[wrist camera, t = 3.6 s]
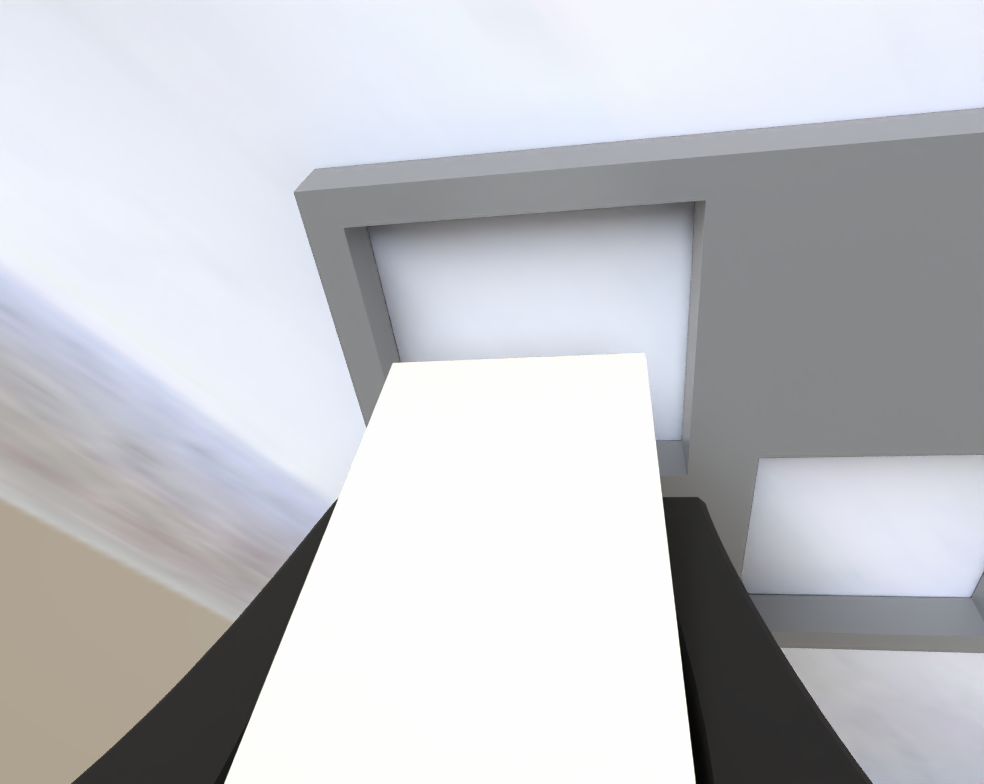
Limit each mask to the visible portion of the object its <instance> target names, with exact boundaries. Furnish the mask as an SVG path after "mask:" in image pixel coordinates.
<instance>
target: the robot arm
mask: <svg viewBox="0 0 984 784" xmlns="http://www.w3.org/2000/svg"><path fill="white" fill-rule="evenodd" d="M662 500H663V509H664V517H665V526H666V534H667V543H668V551H669V560H670V568H671V577H672V585H673V594H674V603H675V611H676V620H677V628H678V637H679V645H680V654H681V662H682V671H683V679H684V688H685V696H686V705H687V714H688V722H689V731H690V739H691V748H692V756H693V765H694V773H695V782H696V784H873V783H872V782H871V781H870V779H869V778H868V777H867V775H866V774H865V773H864V771H863V770H862V768H861V767H860V766H859V764H858V763H857V762H856V760H855V759H854V758H853V756H852V755H851V753H850V752H849V751H848V749H847V748H846V746H845V745H844V744H843V742H842V741H841V739H840V738H839V737H838V735H837V734H836V732H835V731H834V729H833V728H832V727H831V725H830V724H829V722H828V721H827V719H826V718H825V716H824V715H823V714H822V712H821V711H820V709H819V708H818V706H817V704H816V703H815V701H814V700H813V698H812V697H811V695H810V694H809V692H808V691H807V689H806V688H805V686H804V685H803V683H802V682H801V680H800V679H799V677H798V676H797V674H796V673H795V671H794V670H793V668H792V666H791V665H790V663H789V662H788V660H787V658H786V657H785V655H784V654H783V652H782V650H781V649H780V647H779V646H778V644H777V642H776V640H775V639H774V637H773V635H772V634H771V632H770V630H769V629H768V627H767V625H766V624H765V622H764V620H763V618H762V617H761V615H760V613H759V612H758V610H757V608H756V607H755V605H754V603H753V601H752V600H751V598H750V596H749V594H748V592H747V591H746V589H745V587H744V585H743V583H742V581H741V579H740V577H739V576H738V574H737V572H736V570H735V568H734V566H733V564H732V562H731V560H730V558H729V556H728V554H727V552H726V550H725V548H724V546H723V544H722V542H721V540H720V537H719V535H718V533H717V531H716V528H715V526H714V524H713V521H712V519H711V517H710V514H709V512H708V509H707V506H706V503H705V502H704V501H702V500H701V499H700V498H699V497H662ZM337 501H338V499H337V500H336V501H335V502H334V503H333V504H332V505H331V507H330V508H329V509H328V510H327V512H326V513H325V514H324V515H323V516H322V518H321V519H320V520H319V521H318V523H317V524H316V525H315V526H314V527H313V529H312V530H311V531H310V532H309V534H308V535H307V536H306V537H305V539H304V540H303V541H302V542H301V544H300V545H299V546H298V547H297V548H296V550H295V551H294V552H293V553H292V555H291V556H290V557H289V558H288V559H287V561H286V562H285V563H284V564H283V566H282V567H281V568H280V569H279V570H278V572H277V573H276V574H275V575H274V577H273V578H272V579H271V580H270V581H269V582H268V584H267V585H266V586H265V587H264V588H263V589H262V591H261V592H260V593H259V594H258V595H257V596H256V598H255V599H254V600H253V601H252V602H251V603H250V605H249V606H248V607H247V608H246V609H245V610H244V612H243V613H242V614H241V615H240V616H239V617H238V619H237V620H236V621H235V622H234V623H233V624H232V625H231V627H230V628H229V629H228V630H227V631H226V632H225V633H224V634H223V635H222V636H221V637H220V639H219V640H218V641H217V642H216V643H215V644H214V645H213V646H212V647H211V648H210V649H209V650H208V652H207V653H206V654H205V655H204V656H203V657H202V658H201V659H200V660H199V661H198V662H197V663H196V665H195V666H194V667H193V668H192V669H191V670H190V671H189V672H188V673H187V674H186V675H185V676H184V677H183V678H182V679H181V681H180V682H179V683H178V684H177V685H176V686H175V687H174V688H173V689H172V690H171V691H170V692H169V693H168V694H167V695H166V696H165V697H164V698H163V699H162V700H161V701H160V702H159V703H158V704H157V705H156V706H155V707H154V708H153V709H152V710H151V711H150V712H149V713H148V714H147V715H146V716H145V717H144V718H142V720H140V721H139V722H138V723H137V724H136V725H135V726H134V727H133V728H132V729H131V730H130V731H129V732H128V733H127V734H126V735H125V736H124V737H123V738H121V739H120V741H118V742H117V743H116V744H115V745H114V746H113V747H112V748H111V749H110V750H109V751H108V752H106V753H105V754H104V755H103V756H102V757H101V758H100V759H99V760H97V761H96V762H95V763H94V764H93V765H92V766H91V767H90V768H88V769H87V770H86V771H85V772H84V773H83V774H82V775H80V776H79V777H78V778H77V779H76V780H75V781H74V782H73V783H71V784H224V783H225V781H226V778H227V776H228V773H229V771H230V768H231V766H232V763H233V761H234V758H235V756H236V753H237V751H238V748H239V746H240V743H241V741H242V738H243V736H244V733H245V731H246V728H247V726H248V723H249V721H250V718H251V716H252V713H253V711H254V708H255V706H256V703H257V701H258V698H259V696H260V693H261V691H262V688H263V686H264V683H265V681H266V678H267V676H268V673H269V671H270V668H271V666H272V663H273V661H274V658H275V656H276V653H277V651H278V648H279V646H280V643H281V641H282V638H283V636H284V633H285V631H286V628H287V626H288V623H289V621H290V618H291V616H292V613H293V611H294V608H295V606H296V603H297V601H298V598H299V596H300V593H301V591H302V588H303V586H304V583H305V581H306V578H307V576H308V573H309V571H310V568H311V566H312V563H313V561H314V558H315V556H316V553H317V551H318V548H319V546H320V543H321V541H322V538H323V536H324V533H325V531H326V528H327V526H328V523H329V521H330V518H331V516H332V513H333V511H334V508H335V506H336V503H337Z"/></svg>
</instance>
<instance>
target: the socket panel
mask: <svg viewBox="0 0 984 784" xmlns="http://www.w3.org/2000/svg"><path fill="white" fill-rule="evenodd" d="M294 195H295V198H296V201H297V204H298V208H299V211H300V214H301V217H302V221H303V224H304V227H305V230H306V234H307V237H308V240H309V243H310V247H311V250H312V253H313V256H314V260H315V263H316V266H317V269H318V272H319V276H320V279H321V282H322V285H323V289H324V292H325V295H326V298H327V302H328V305H329V308H330V311H331V315H332V318H333V321H334V324H335V328H336V331H337V334H338V337H339V341H340V344H341V347H342V350H343V353H344V357H345V360H346V363H347V366H348V370H349V373H350V376H351V379H352V383H353V386H354V389H355V392H356V396H357V399H358V402H359V405H360V409H361V412H362V415H363V418H364V422H365V425H366V428H367V426H368V424H369V421H370V419H371V416H372V414H373V411H374V409H375V406H376V404H377V401H378V399H379V396H380V394H381V391H382V389H383V386H384V384H385V381H386V379H387V376H388V374H389V371H390V369H391V366H392V364H393V363H400V359H399V355H398V351H397V347H396V343H395V339H394V335H393V331H392V327H391V323H390V319H389V315H388V311H387V307H386V303H385V299H384V295H383V291H382V287H381V283H380V279H379V275H378V271H377V267H376V263H375V259H374V255H373V251H372V247H371V243H370V239H369V235H368V231H367V227H366V226H375V225H388V224H401V223H415V222H428V221H441V220H454V219H467V218H480V217H493V216H507V215H520V214H533V213H546V212H559V211H572V210H585V209H598V208H612V207H625V206H638V205H651V204H664V203H677V202H690V201H695V217H694V234H693V251H692V269H691V286H690V303H689V320H688V337H687V355H686V372H685V389H684V406H683V423H682V440H680V441H656V449H657V457H658V466H659V474H660V483H661V492H662V497H699V498H700V499H701V500H702V501H704V502H705V503H706V506H707V509H708V512H709V514H710V517H711V519H712V521H713V524H714V526H715V528H716V531H717V533H718V535H719V537H720V540H721V542H722V544H723V546H724V548H725V550H726V552H727V554H728V556H729V558H730V560H731V562H732V564H733V566H734V568H735V570H736V572H737V574H738V576H739V577H740V579H741V573H742V567H743V560H744V554H745V547H746V540H747V534H748V527H749V521H750V514H751V508H752V501H753V495H754V488H755V482H756V475H757V468H758V462H759V458H800V457H864V456H928V455H984V108H976V109H965V110H954V111H943V112H932V113H922V114H911V115H900V116H889V117H878V118H867V119H856V120H845V121H834V122H824V123H813V124H802V125H791V126H780V127H769V128H758V129H747V130H736V131H726V132H715V133H704V134H693V135H682V136H671V137H660V138H649V139H638V140H627V141H617V142H606V143H595V144H584V145H573V146H562V147H551V148H540V149H529V150H519V151H508V152H497V153H486V154H475V155H464V156H453V157H442V158H431V159H421V160H410V161H399V162H388V163H377V164H366V165H355V166H344V167H333V168H322V169H314V171H313V172H312V173H311V174H310V175H309V176H308V177H307V178H306V179H305V180H304V181H303V182H302V184H301V185H300V186H299V187H298V188H297V189H296V190H295V191H294ZM749 596H750V598H751V600H752V601H753V603H754V605H755V607H756V608H757V610H758V612H759V613H760V615H761V617H762V618H763V620H764V622H765V624H766V625H767V627H768V629H769V630H770V632H771V634H772V635H773V637H774V639H775V640H776V642H777V644H778V646H779V647H784V648H820V649H856V650H892V651H928V652H964V653H984V573H983V575H982V577H981V579H980V582H979V584H978V586H977V588H976V590H975V592H974V594H973V596H972V598H939V597H876V596H813V595H750V594H749Z"/></svg>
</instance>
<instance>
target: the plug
mask: <svg viewBox="0 0 984 784" xmlns="http://www.w3.org/2000/svg"><path fill="white" fill-rule="evenodd" d="M224 784H696V782H695V773H694V765H693V756H692V748H691V739H690V731H689V722H688V714H687V705H686V696H685V688H684V679H683V671H682V662H681V654H680V645H679V637H678V628H677V620H676V611H675V603H674V594H673V585H672V577H671V568H670V560H669V551H668V543H667V534H666V526H665V517H664V509H663V500H662V492H661V483H660V474H659V466H658V457H657V449H656V440H655V432H654V423H653V415H652V406H651V398H650V389H649V381H648V372H647V363H646V355H645V353H631V354H606V355H581V356H555V357H530V358H505V359H480V360H455V361H430V362H404V363H393V364H392V366H391V369H390V371H389V374H388V376H387V379H386V381H385V384H384V386H383V389H382V391H381V394H380V396H379V399H378V401H377V404H376V406H375V409H374V411H373V414H372V416H371V419H370V421H369V424H368V426H367V429H366V431H365V434H364V436H363V439H362V441H361V444H360V446H359V449H358V451H357V454H356V456H355V459H354V461H353V464H352V466H351V469H350V471H349V474H348V476H347V479H346V481H345V484H344V486H343V489H342V491H341V494H340V496H339V498H338V501H337V503H336V506H335V508H334V511H333V513H332V516H331V518H330V521H329V523H328V526H327V528H326V531H325V533H324V536H323V538H322V541H321V543H320V546H319V548H318V551H317V553H316V556H315V558H314V561H313V563H312V566H311V568H310V571H309V573H308V576H307V578H306V581H305V583H304V586H303V588H302V591H301V593H300V596H299V598H298V601H297V603H296V606H295V608H294V611H293V613H292V616H291V618H290V621H289V623H288V626H287V628H286V631H285V633H284V636H283V638H282V641H281V643H280V646H279V648H278V651H277V653H276V656H275V658H274V661H273V663H272V666H271V668H270V671H269V673H268V676H267V678H266V681H265V683H264V686H263V688H262V691H261V693H260V696H259V698H258V701H257V703H256V706H255V708H254V711H253V713H252V716H251V718H250V721H249V723H248V726H247V728H246V731H245V733H244V736H243V738H242V741H241V743H240V746H239V748H238V751H237V753H236V756H235V758H234V761H233V763H232V766H231V768H230V771H229V773H228V776H227V778H226V781H225V783H224Z"/></svg>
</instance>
